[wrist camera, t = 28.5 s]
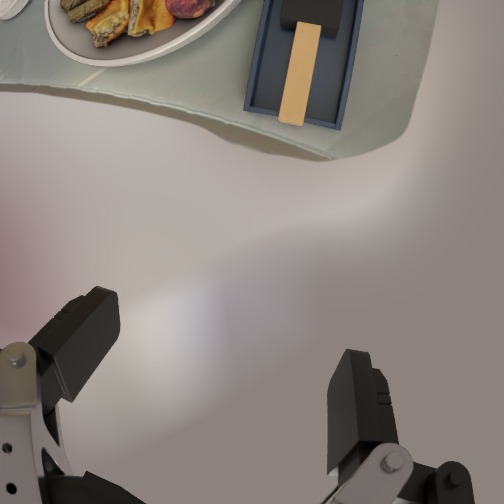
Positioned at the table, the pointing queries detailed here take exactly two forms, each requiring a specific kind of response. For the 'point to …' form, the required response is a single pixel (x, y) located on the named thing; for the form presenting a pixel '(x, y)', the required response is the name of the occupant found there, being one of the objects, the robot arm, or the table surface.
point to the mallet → (305, 50)
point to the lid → (11, 8)
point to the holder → (324, 74)
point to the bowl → (129, 27)
